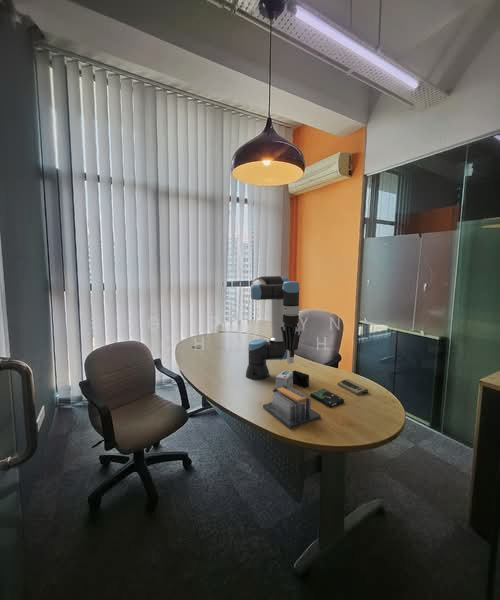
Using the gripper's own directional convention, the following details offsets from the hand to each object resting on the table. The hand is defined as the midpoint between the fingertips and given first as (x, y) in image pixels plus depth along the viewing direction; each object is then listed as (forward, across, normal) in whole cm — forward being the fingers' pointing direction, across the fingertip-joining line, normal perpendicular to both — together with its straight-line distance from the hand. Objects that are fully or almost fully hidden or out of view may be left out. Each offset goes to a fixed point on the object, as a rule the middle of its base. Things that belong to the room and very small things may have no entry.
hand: (290, 362), depth 133 cm
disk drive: (+25, 0, +24) cm, 35 cm away
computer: (+26, -2, +47) cm, 53 cm away
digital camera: (+25, -22, +24) cm, 41 cm away
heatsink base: (+25, +1, 0) cm, 25 cm away
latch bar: (+16, +1, 0) cm, 16 cm away
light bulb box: (+25, -18, +10) cm, 33 cm away
